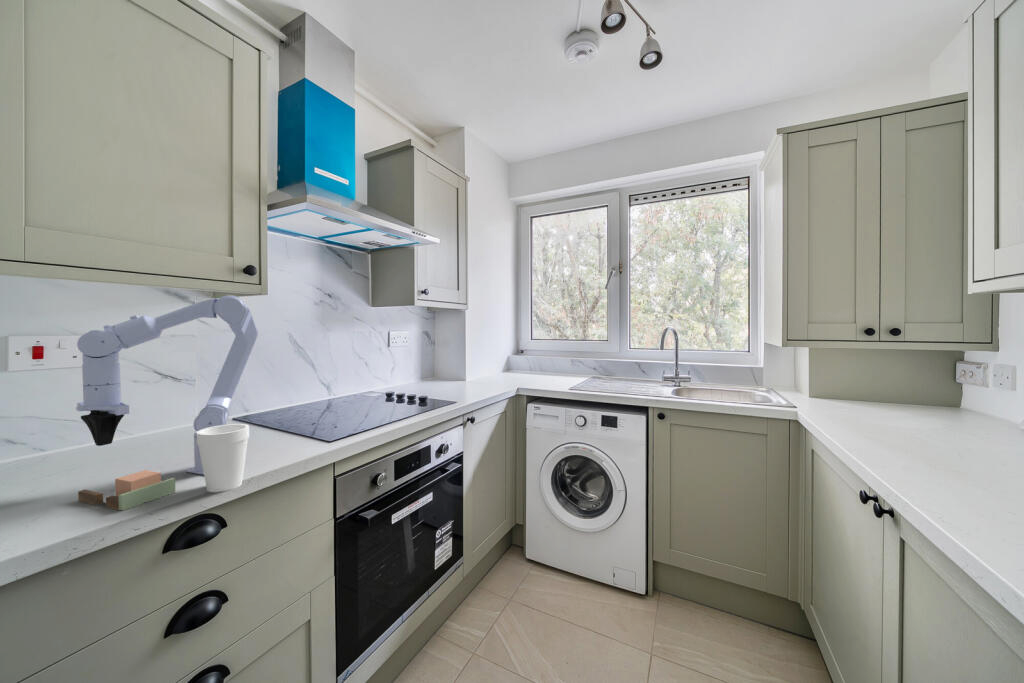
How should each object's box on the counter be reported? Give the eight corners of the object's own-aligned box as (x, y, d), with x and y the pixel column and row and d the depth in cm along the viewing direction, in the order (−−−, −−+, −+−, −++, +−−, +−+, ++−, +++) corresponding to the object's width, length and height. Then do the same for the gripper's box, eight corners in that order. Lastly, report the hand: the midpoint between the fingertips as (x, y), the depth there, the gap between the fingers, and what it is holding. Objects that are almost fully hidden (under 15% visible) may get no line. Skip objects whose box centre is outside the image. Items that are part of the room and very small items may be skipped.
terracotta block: (145, 492, 82) (145, 470, 82) (161, 496, 81) (160, 472, 80) (115, 502, 77) (115, 478, 77) (131, 506, 76) (131, 481, 76)
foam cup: (259, 478, 90) (258, 423, 90) (231, 495, 81) (230, 434, 80) (218, 478, 90) (217, 424, 89) (186, 495, 80) (184, 434, 80)
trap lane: (133, 484, 86) (133, 471, 86) (175, 492, 82) (175, 478, 82) (78, 501, 78) (78, 486, 78) (122, 510, 74) (121, 495, 74)
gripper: (57, 385, 83) (59, 446, 84) (98, 388, 79) (100, 453, 79) (100, 381, 90) (101, 437, 90) (140, 383, 86) (141, 443, 86)
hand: (104, 444), depth 85 cm, fingers closed
